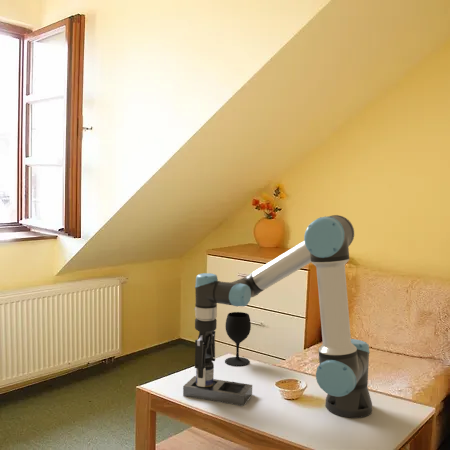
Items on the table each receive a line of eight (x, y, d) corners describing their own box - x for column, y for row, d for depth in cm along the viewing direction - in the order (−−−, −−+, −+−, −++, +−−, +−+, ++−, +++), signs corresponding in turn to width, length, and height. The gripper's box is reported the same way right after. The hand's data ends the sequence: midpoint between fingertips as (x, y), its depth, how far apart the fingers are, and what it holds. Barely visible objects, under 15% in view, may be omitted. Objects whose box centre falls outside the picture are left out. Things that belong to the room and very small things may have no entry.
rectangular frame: (252, 394, 184) (252, 384, 184) (243, 405, 174) (243, 395, 174) (194, 385, 191) (194, 376, 191) (183, 395, 182) (183, 386, 181)
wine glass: (235, 368, 209) (237, 319, 208) (219, 361, 217) (220, 313, 216) (255, 363, 216) (256, 315, 214) (238, 356, 224) (239, 310, 222)
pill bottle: (194, 383, 186) (194, 353, 185) (210, 382, 188) (211, 352, 187) (198, 390, 180) (198, 359, 179) (215, 388, 182) (216, 357, 181)
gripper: (205, 310, 192) (204, 372, 194) (184, 323, 174) (184, 391, 176) (225, 312, 190) (223, 374, 192) (205, 326, 172) (204, 394, 174)
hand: (204, 382), depth 184 cm, fingers closed on pill bottle, 6 cm apart
